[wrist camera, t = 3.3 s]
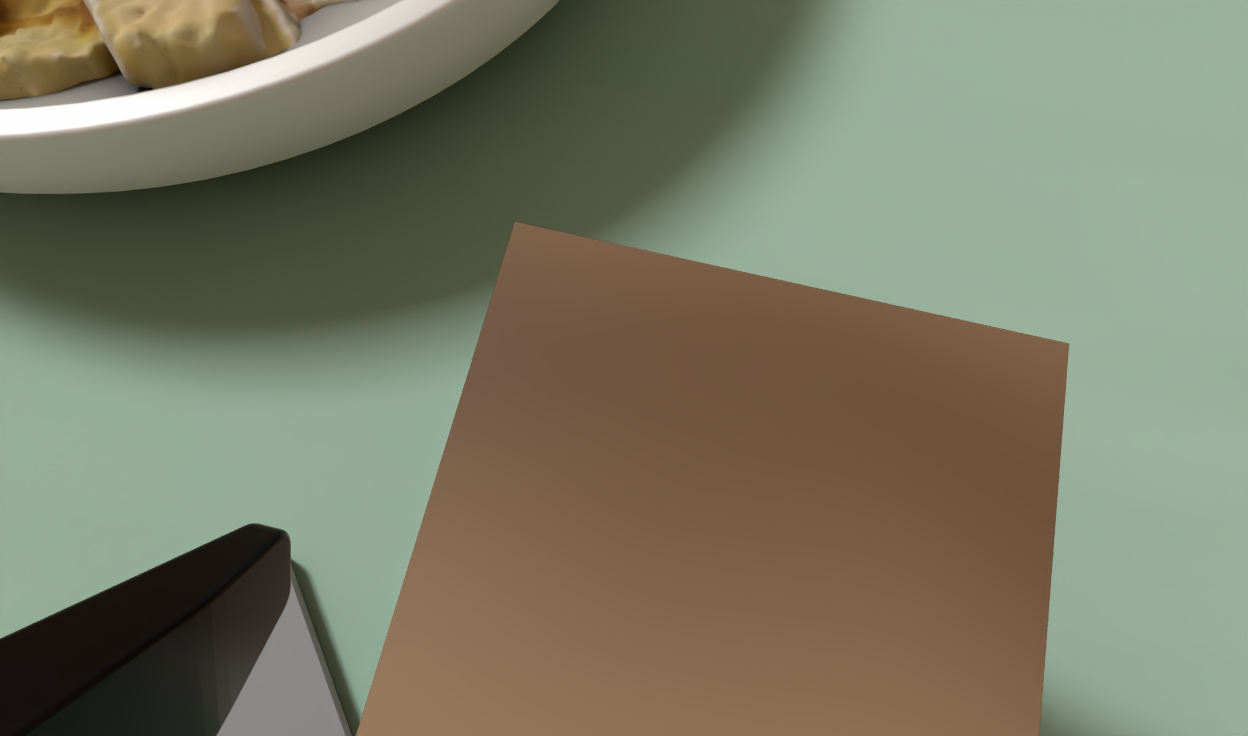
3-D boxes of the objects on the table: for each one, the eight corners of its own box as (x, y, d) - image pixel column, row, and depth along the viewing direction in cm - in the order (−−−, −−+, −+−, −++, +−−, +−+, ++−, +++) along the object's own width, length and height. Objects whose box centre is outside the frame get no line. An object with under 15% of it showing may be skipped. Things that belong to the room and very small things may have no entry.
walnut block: (743, 763, 17) (1017, 1005, 5) (517, 705, 17) (329, 821, 6) (783, 533, 18) (1069, 343, 7) (575, 484, 18) (516, 221, 7)
